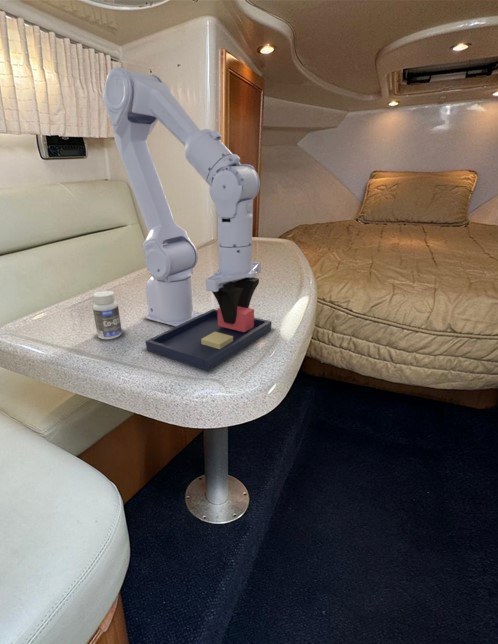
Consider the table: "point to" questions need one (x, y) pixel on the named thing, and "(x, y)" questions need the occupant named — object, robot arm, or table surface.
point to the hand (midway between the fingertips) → (235, 319)
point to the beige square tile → (217, 340)
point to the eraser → (239, 319)
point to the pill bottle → (106, 315)
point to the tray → (187, 341)
